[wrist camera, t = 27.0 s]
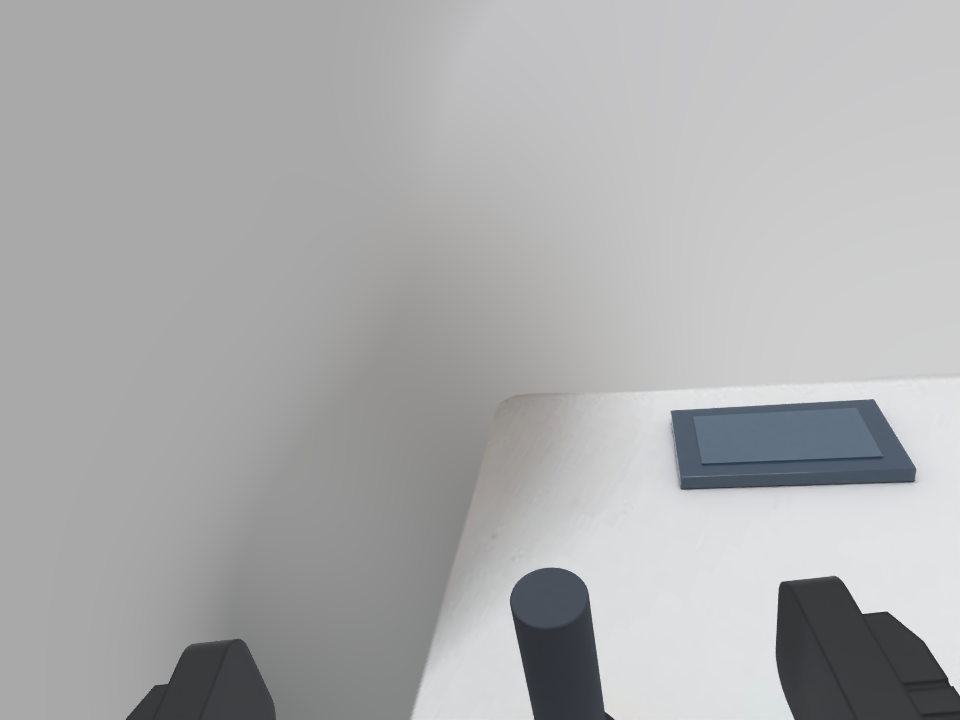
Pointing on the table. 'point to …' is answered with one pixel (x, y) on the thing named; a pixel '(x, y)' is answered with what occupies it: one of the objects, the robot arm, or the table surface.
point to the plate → (788, 445)
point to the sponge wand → (558, 645)
